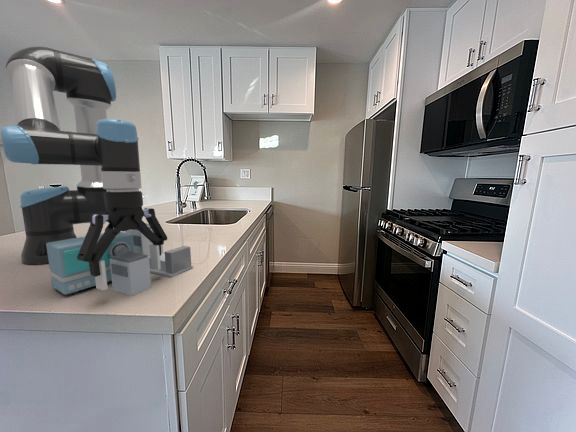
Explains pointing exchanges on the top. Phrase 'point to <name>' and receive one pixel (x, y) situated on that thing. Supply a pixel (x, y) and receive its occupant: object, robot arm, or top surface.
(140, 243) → the block
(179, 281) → the top surface
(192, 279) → the top surface
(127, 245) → the radio
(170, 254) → the block
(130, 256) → the block
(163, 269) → the rail panel
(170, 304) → the top surface
